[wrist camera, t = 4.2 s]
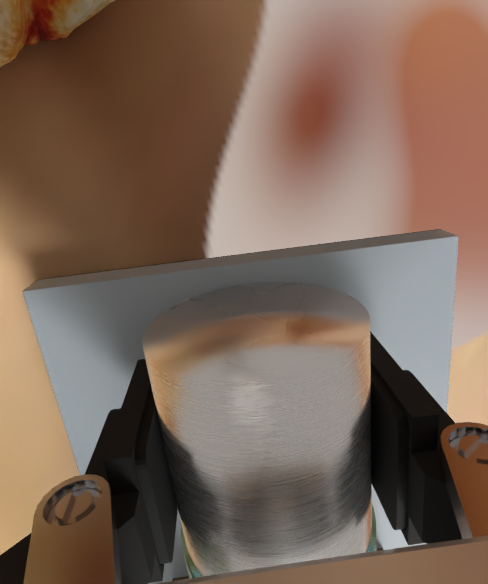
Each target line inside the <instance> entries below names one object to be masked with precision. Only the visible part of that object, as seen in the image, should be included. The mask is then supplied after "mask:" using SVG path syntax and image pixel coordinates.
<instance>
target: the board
mask: <svg viewBox="0 0 488 584" xmlns="http://www.w3.org/2000/svg"><path fill="white" fill-rule="evenodd" d="M457 252H458V236H457V235H454V234H452V233H449V232H446V231H444V230H441V229H437V230H429V231H422V232H413V233H405V234H397V235H389V236H381V237H373V238H365V239H358V240H350V241H342V242H334V243H326V244H318V245H310V246H302V247H294V248H286V249H279V250H270V251H263V252H255V253H247V254H239V255H231V256H223V257H215V258H207V259H199V260H191V261H183V262H176V263H168V264H160V265H152V266H144V267H136V268H128V269H120V270H112V271H104V272H96V273H88V274H81V275H73V276H65V277H57V278H49V279H41V280H37V281H35V282H34V283H33V284H31V285H30V286H29V287H28V288H26V289H25V290H24V291H22V292H23V295H24V298H25V301H26V305H27V308H28V311H29V314H30V317H31V320H32V324H33V327H34V330H35V333H36V336H37V340H38V343H39V346H40V349H41V352H42V356H43V359H44V362H45V365H46V368H47V371H48V375H49V378H50V381H51V384H52V387H53V391H54V394H55V397H56V400H57V403H58V406H59V410H60V413H61V416H62V419H63V422H64V426H65V429H66V432H67V435H68V438H69V442H70V445H71V448H72V451H73V454H74V457H75V461H76V464H77V467H78V470H79V473H80V475H85V472H86V470H87V467H88V464H89V462H90V459H91V457H92V454H93V452H94V449H95V447H96V444H97V441H98V439H99V436H100V434H101V431H102V429H103V426H104V423H105V421H106V418H107V416H108V413H109V412H110V410H112V409H119V408H121V407H122V404H123V401H124V398H125V395H126V392H127V390H128V387H129V384H130V381H131V378H132V375H133V372H134V370H135V367H136V364H137V361H138V360H139V359H145V355H144V351H143V345H142V339H143V335H144V332H145V331H146V329H147V327H148V326H149V325H150V323H151V322H152V321H153V320H154V319H155V318H156V317H157V316H159V315H160V314H162V313H163V312H164V311H166V310H168V309H169V308H171V307H173V306H174V305H176V304H178V303H181V302H183V301H185V300H187V299H190V298H192V297H195V296H198V295H201V294H204V293H208V292H211V291H215V290H219V289H223V288H228V287H233V286H239V285H246V284H255V283H269V282H290V283H304V284H312V285H318V286H323V287H327V288H331V289H335V290H338V291H340V292H343V293H345V294H347V295H350V296H351V297H353V298H355V299H356V300H358V301H359V302H360V303H361V304H362V305H363V306H364V307H365V308H366V310H367V311H368V314H369V316H370V331H371V332H372V334H373V335H374V336H375V337H376V338H377V340H378V341H379V342H380V343H381V344H382V346H383V347H384V348H385V349H386V351H387V352H388V353H389V354H390V355H391V357H392V358H393V359H394V360H395V361H396V363H397V364H398V365H399V366H400V367H401V369H402V370H409V371H410V372H411V373H413V375H414V376H415V377H416V378H417V379H418V380H419V382H420V383H421V384H422V385H423V386H424V387H425V389H426V390H427V391H428V392H429V393H430V394H431V396H432V397H433V398H434V399H435V400H436V401H437V403H438V404H439V405H440V406H441V407H442V408H443V410H444V411H445V412H446V413H447V403H448V388H449V373H450V358H451V343H452V327H453V312H454V297H455V296H454V295H455V281H456V266H457ZM372 505H373V508H374V512H375V517H376V549H378V548H383V549H384V550H387V549H394V548H401V547H408V546H416V545H423V544H427V543H421V544H414V545H408V544H407V542H406V540H405V538H404V536H403V534H402V531H401V530H394V529H393V528H392V526H391V524H390V522H389V520H388V518H387V516H386V513H385V511H384V509H383V507H382V505H381V503H380V500H379V498H378V496H377V494H376V492H375V490H374V487H373V485H372ZM186 576H189V575H188V571H187V566H186V562H185V558H184V553H183V549H182V542H181V520H180V515H179V511H177V521H176V532H175V542H174V552H173V560H172V562H171V563H166V564H164V573H163V581H160V582H154V583H148V584H157V583H163V582H170V581H172V580H173V578H179V577H186Z"/></svg>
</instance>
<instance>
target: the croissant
mask: <svg viewBox="0 0 488 584" xmlns="http://www.w3.org/2000/svg"><path fill="white" fill-rule="evenodd" d="M114 1H115V0H0V68H1V67H2V66H3V65H4V64H7V63H9V62H11V61H12V60H13V59H15V58H16V56H17V53H18V52H19V51H20V50H21V49H22V48H23V46H24V44H29V45H35V44H36V43H37V42H38V41H39V40H40V39H41V40H49V41H54V40H58V39H63V38H67V37H68V36H69V34H70V33H71V32H72V31H73V30H74V29H75V28H76V27H78V26H79V25H81V24H82V23H84V22H85V21H87V20H88V19H90V18H91V17H93V16H94V15H96V14H97V13H98V12H100V11H101V10H102V9H104V8H105V7H106V6H107V5H109V4H110V3H112V2H114Z"/></svg>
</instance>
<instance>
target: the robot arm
mask: <svg viewBox="0 0 488 584" xmlns="http://www.w3.org/2000/svg"><path fill="white" fill-rule="evenodd" d="M370 364H371V480H372V485H373V487H374V490H375V492H376V494H377V496H378V498H379V500H380V503H381V505H382V507H383V509H384V511H385V513H386V516H387V518H388V520H389V522H390V524H391V526H392V528H393V529H394V530H401V531H402V534H403V536H404V538H405V540H406V542H407V544H408V545H414V544H421V543H427V544H423V545H416V546H408V547H401V548H394V549H387V550H380V551H373V552H366V553H359V554H352V555H345V556H338V557H331V558H325V559H318V560H311V561H304V562H297V563H290V564H283V565H277V566H270V567H263V568H256V569H249V570H243V571H236V572H229V573H222V574H216V575H209V576H203V577H196V578H190V579H183V580H176V581H170V582H163V583H157V584H488V426H487V425H484V424H480V423H472V422H462V423H456V424H455V422H454V421H453V420H452V419H451V418H450V417H449V415H448V414H447V413H446V412H445V411H444V410H443V408H442V407H441V406H440V405H439V404H438V403H437V401H436V400H435V399H434V398H433V397H432V396H431V394H430V393H429V392H428V391H427V390H426V389H425V387H424V386H423V385H422V384H421V383H420V382H419V380H418V379H417V378H416V377H415V376H414V375H413V373H411V372H410V371H409V370H402V369H401V367H400V366H399V365H398V364H397V363H396V361H395V360H394V359H393V358H392V357H391V355H390V354H389V353H388V352H387V351H386V349H385V348H384V347H383V346H382V344H381V343H380V342H379V341H378V340H377V338H376V337H375V336H374V335H373V334H372V332H371V331H370ZM177 511H178V506H177V501H176V497H175V492H174V488H173V483H172V479H171V474H170V469H169V465H168V460H167V456H166V451H165V447H164V442H163V437H162V433H161V428H160V424H159V419H158V415H157V410H156V406H155V401H154V396H153V392H152V387H151V383H150V378H149V374H148V369H147V364H146V360H145V359H139V360H138V361H137V364H136V367H135V370H134V372H133V375H132V378H131V381H130V384H129V387H128V390H127V392H126V395H125V398H124V401H123V404H122V407H121V408H119V409H112V410H110V412H109V413H108V416H107V418H106V421H105V423H104V426H103V429H102V431H101V434H100V436H99V439H98V441H97V444H96V447H95V449H94V452H93V454H92V457H91V459H90V462H89V464H88V467H87V470H86V472H85V475H80V476H76V477H73V478H70V479H68V480H66V481H63V482H62V483H60V484H59V485H57V486H55V487H54V488H52V489H51V490H50V491H49V492H48V493H47V494H46V495H45V496H44V497H43V498H42V500H41V501H40V503H39V504H38V506H37V509H36V511H35V514H34V520H33V526H32V533H31V534H29V535H28V536H27V537H25V538H24V539H22V540H21V541H20V542H18V543H17V544H15V545H14V546H13V547H11V548H10V549H9V550H7V551H6V552H4V553H3V554H2V555H0V584H148V583H154V582H160V581H163V573H164V564H166V563H171V562H172V560H173V552H174V542H175V532H176V521H177Z"/></svg>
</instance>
